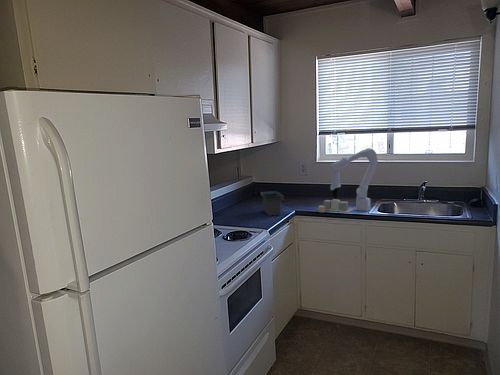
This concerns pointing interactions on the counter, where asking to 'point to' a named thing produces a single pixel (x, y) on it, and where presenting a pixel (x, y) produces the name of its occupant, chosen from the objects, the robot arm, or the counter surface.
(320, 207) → the block
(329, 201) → the din rail
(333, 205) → the block
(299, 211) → the counter surface
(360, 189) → the robot arm
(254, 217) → the counter surface
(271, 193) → the storage bin
